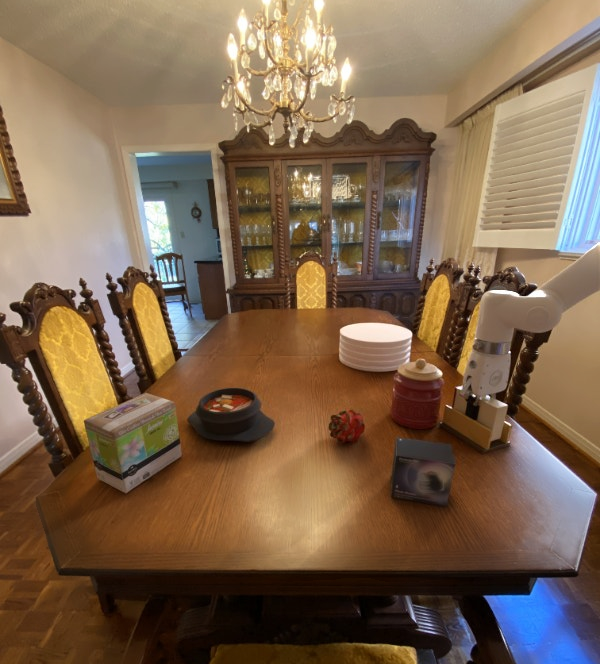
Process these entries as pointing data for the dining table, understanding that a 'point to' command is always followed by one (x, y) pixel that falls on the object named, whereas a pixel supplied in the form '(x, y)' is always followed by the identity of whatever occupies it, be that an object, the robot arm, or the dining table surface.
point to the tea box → (133, 440)
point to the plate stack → (375, 346)
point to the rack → (474, 431)
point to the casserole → (231, 416)
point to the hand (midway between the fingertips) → (477, 415)
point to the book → (484, 411)
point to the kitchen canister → (417, 395)
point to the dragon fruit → (346, 426)
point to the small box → (422, 471)
